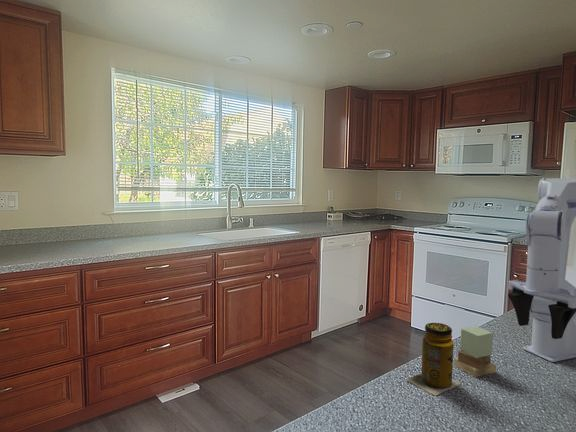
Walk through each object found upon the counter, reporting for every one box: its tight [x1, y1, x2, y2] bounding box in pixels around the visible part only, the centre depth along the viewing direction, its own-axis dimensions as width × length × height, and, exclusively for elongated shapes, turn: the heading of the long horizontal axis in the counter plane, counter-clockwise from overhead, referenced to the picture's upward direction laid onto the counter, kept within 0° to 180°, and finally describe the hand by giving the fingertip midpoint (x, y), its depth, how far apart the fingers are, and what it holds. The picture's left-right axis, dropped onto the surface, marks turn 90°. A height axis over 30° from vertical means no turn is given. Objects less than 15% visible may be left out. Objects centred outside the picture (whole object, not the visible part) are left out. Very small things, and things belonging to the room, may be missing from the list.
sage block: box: [459, 325, 494, 358], centre depth 87 cm, size 4×4×5 cm
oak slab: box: [453, 356, 497, 378], centre depth 88 cm, size 6×6×2 cm
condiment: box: [405, 322, 462, 397], centre depth 81 cm, size 7×8×12 cm
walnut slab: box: [457, 350, 492, 369], centre depth 88 cm, size 5×5×2 cm
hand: (539, 331), depth 82 cm, fingers open, 7 cm apart
